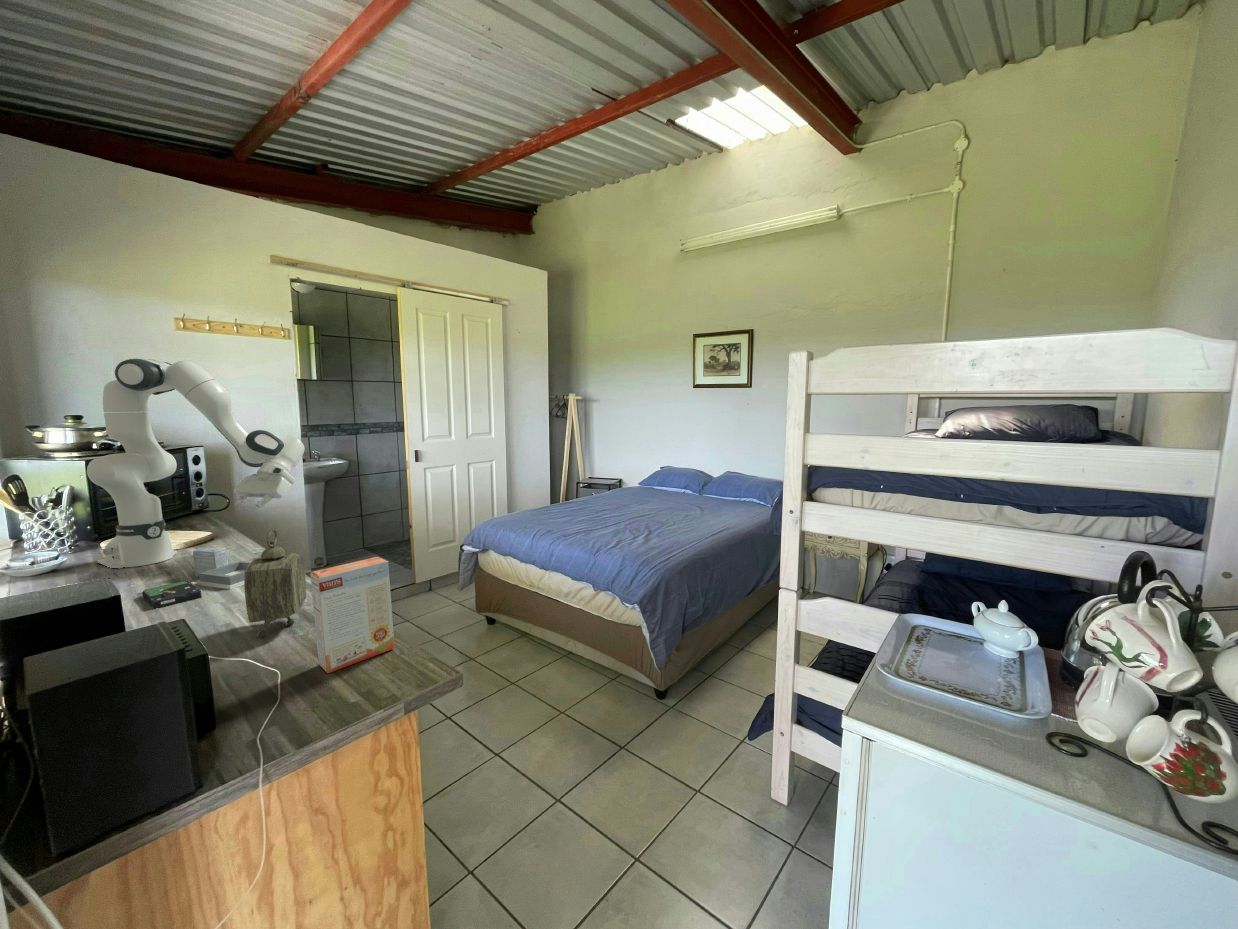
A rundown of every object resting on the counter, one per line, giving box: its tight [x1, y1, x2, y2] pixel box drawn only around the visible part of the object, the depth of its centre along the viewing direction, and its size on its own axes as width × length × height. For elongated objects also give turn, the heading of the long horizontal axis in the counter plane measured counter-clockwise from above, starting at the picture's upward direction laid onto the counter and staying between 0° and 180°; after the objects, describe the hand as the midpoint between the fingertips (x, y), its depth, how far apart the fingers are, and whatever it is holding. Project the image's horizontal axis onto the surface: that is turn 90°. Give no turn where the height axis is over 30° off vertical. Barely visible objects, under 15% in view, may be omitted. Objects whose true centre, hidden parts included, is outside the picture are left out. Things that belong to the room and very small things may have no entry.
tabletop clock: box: [243, 528, 307, 638], centre depth 120 cm, size 14×9×25 cm, turn 21°
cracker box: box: [309, 556, 395, 674], centre depth 105 cm, size 14×6×21 cm, turn 138°
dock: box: [195, 560, 252, 590], centre depth 154 cm, size 14×14×4 cm
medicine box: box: [192, 546, 229, 577], centre depth 158 cm, size 8×4×9 cm, turn 84°
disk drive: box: [141, 579, 202, 610], centre depth 140 cm, size 10×3×15 cm
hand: (248, 506), depth 169 cm, fingers open, 8 cm apart
